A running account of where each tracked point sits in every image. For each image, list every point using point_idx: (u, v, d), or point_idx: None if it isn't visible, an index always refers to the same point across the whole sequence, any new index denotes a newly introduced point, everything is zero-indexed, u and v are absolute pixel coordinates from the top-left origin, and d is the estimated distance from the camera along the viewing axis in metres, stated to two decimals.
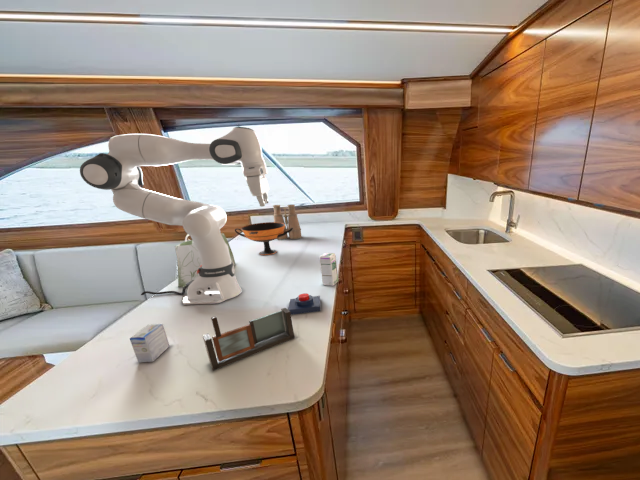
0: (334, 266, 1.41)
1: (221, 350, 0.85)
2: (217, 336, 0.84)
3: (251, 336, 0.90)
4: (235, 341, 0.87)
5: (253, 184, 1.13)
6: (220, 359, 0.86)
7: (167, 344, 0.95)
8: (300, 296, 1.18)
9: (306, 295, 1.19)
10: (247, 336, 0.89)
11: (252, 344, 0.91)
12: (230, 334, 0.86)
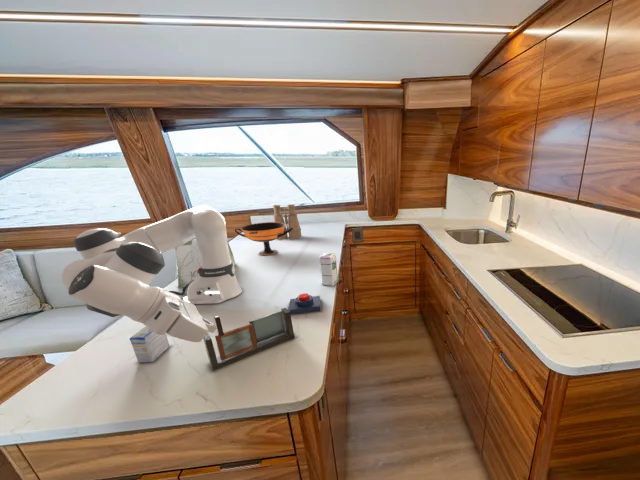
0: (334, 266, 1.41)
1: (224, 349, 0.86)
2: (220, 335, 0.84)
3: (253, 335, 0.91)
4: (238, 340, 0.88)
5: (186, 331, 0.70)
6: (223, 358, 0.86)
7: (167, 344, 0.95)
8: (300, 296, 1.18)
9: (306, 295, 1.19)
10: (249, 335, 0.90)
11: (254, 343, 0.91)
12: (233, 333, 0.86)
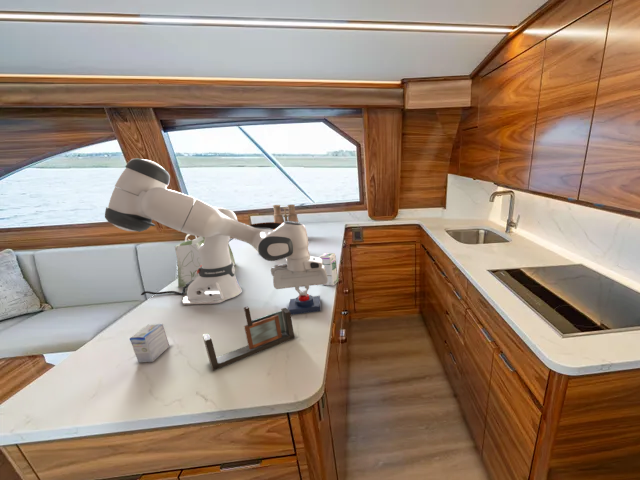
0: (334, 266, 1.41)
1: (252, 339, 0.91)
2: (249, 325, 0.89)
3: (279, 326, 0.95)
4: (264, 330, 0.93)
5: (326, 272, 1.17)
6: (251, 347, 0.91)
7: (167, 344, 0.95)
8: None
9: None
10: (275, 326, 0.95)
11: (279, 334, 0.96)
12: (260, 324, 0.91)
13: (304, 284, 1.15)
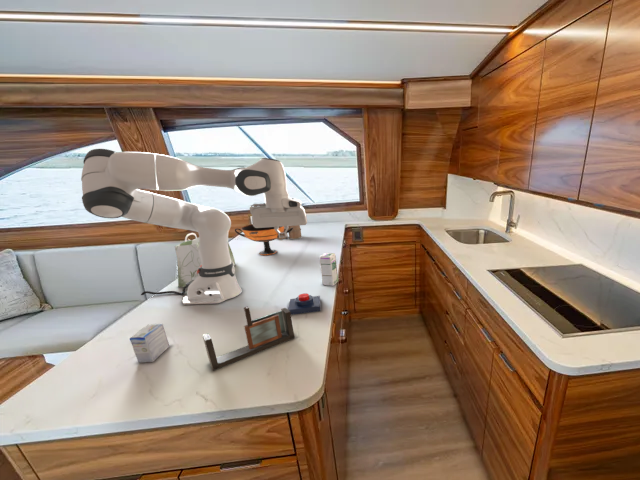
0: (334, 266, 1.41)
1: (252, 339, 0.91)
2: (249, 325, 0.89)
3: (279, 326, 0.95)
4: (264, 330, 0.93)
5: (305, 213, 1.19)
6: (251, 347, 0.91)
7: (167, 344, 0.95)
8: (300, 296, 1.18)
9: (306, 295, 1.19)
10: (275, 326, 0.95)
11: (279, 334, 0.96)
12: (260, 324, 0.91)
13: (283, 224, 1.17)
